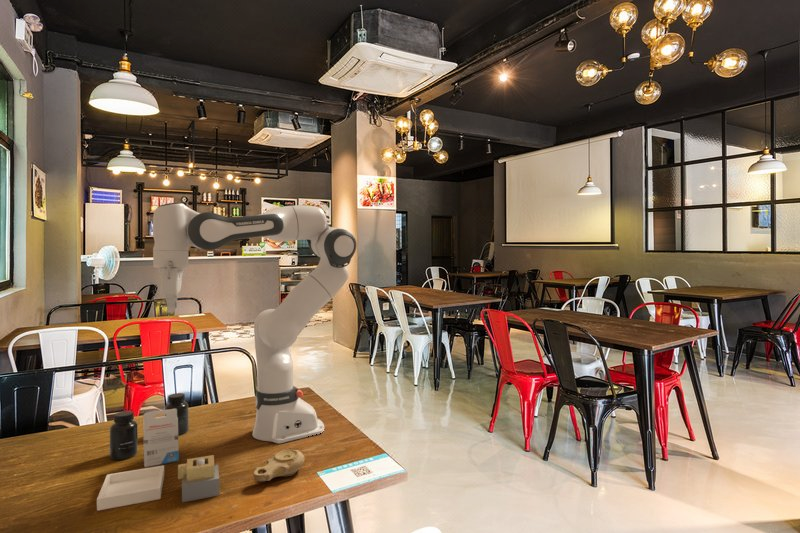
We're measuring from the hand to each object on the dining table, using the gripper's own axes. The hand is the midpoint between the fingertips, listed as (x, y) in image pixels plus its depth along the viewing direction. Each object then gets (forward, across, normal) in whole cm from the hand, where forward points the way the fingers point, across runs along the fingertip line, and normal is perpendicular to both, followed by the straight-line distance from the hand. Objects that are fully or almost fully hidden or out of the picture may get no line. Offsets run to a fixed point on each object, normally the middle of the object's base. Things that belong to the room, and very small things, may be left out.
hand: (172, 310), depth 130 cm
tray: (+41, -18, +8) cm, 46 cm away
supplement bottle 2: (+42, +19, +1) cm, 46 cm away
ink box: (+42, -2, +3) cm, 42 cm away
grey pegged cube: (+41, -24, -7) cm, 48 cm away
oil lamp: (+42, -23, -26) cm, 54 cm away
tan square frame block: (+37, -24, -7) cm, 45 cm away
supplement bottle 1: (+42, +6, +14) cm, 44 cm away
